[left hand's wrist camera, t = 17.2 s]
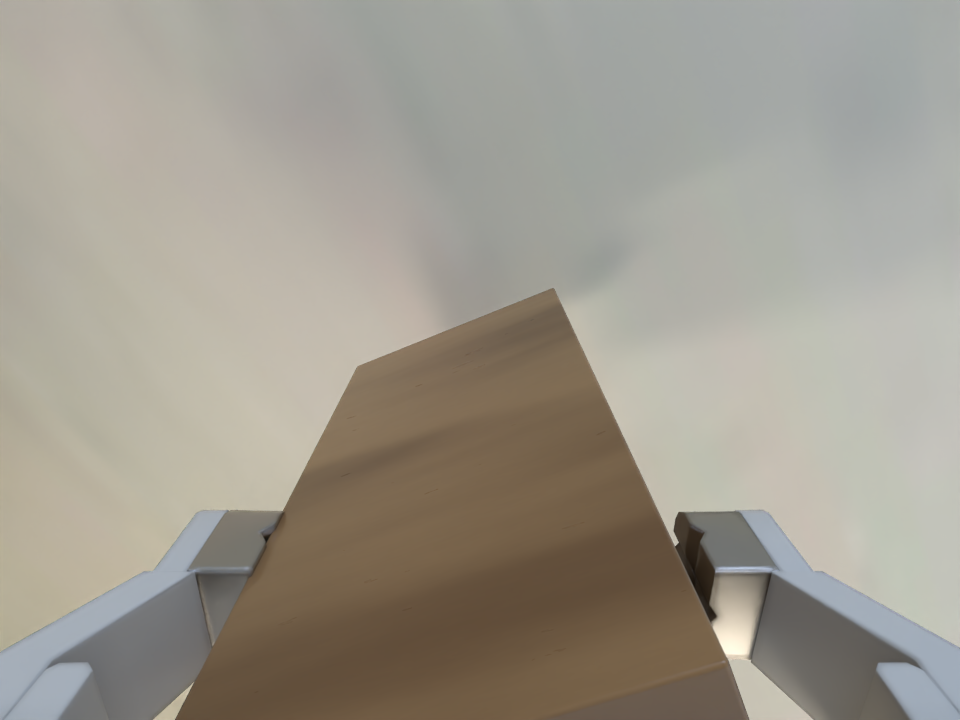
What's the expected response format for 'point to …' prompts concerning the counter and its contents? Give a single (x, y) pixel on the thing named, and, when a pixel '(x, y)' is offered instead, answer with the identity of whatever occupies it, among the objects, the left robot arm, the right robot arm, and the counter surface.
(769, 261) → the counter surface
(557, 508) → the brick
